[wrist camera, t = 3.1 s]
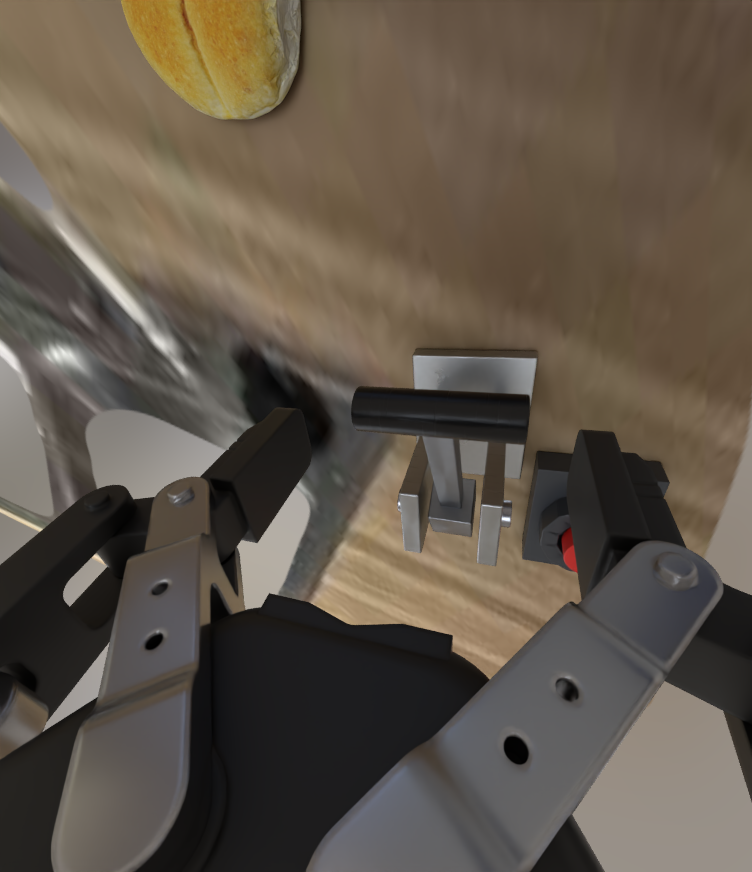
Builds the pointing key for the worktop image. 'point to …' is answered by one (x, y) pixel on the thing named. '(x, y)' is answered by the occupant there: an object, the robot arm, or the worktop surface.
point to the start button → (569, 550)
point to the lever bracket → (468, 441)
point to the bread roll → (221, 51)
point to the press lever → (444, 437)
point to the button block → (555, 507)
